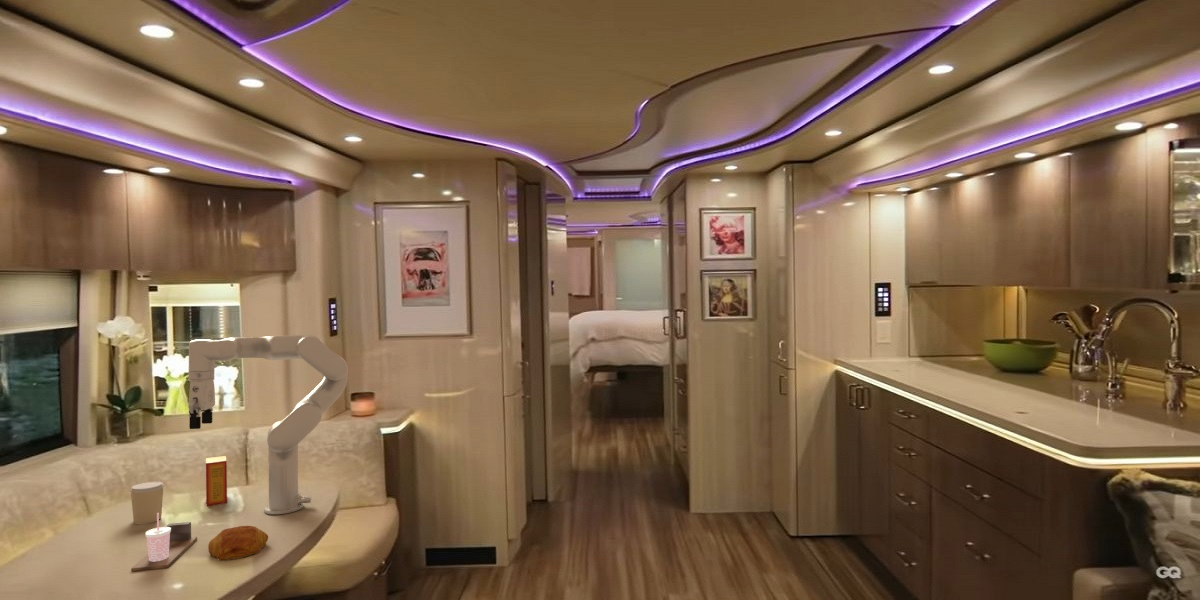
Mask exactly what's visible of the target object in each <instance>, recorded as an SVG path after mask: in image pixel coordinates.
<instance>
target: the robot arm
mask: <svg viewBox="0 0 1200 600" xmlns="http://www.w3.org/2000/svg"><path fill="white" fill-rule="evenodd" d="M234 359H263V360H268V361H269V360H270V361H271V360H272V361H276V360H278V361H279V360H280V361H283V360H301V359H302V360H303V361H305V362H306V363H307V364H308V365H310V366H311V367H312V368H313V369H315V370H316V371H317V372H318V373H319V374H321V375H322V376H323V378H322V380H321V382H320V383H319V384H318V385H317V386H316V387H315V388H314V389H313V390H311V392H309V394H307V395H306V396H305V397H304V398H303V399H301V400H300V401H298V402H297V404H296V405H295V406H294V408H293V410H292V411H291V412H290V413H289V414H288V415H287V416H286V417H284V419H282V420H278V421H276V422H274V423H273V424H272V425H270V427H269V430H268V432H267V438H266V442H267V446H268V467H267V468H268V505H266V506H265V507H264V509H263V512H264V513H265V514H268V515H285V514H290V513H291V514H292V513H294V512H297V511H299V510H301V509H303V507H304V504H311V503H312V497H310V496H309V495H308V496H301V493H300V492H299V443H300V442H301V441H303V440H304V439H305V438H306V437H307V436H308V435H309V434H311V432H312V431H313V430H314V429H315V428H316V427H317V426H318V425H319V424H320V423H321V420H322V418H323V415H324V413H325V412H326V411H327V410H328V409H330V408H331V406H332V405H334V403H335V402H336V401H337V400H338V399H339V398H340V397H341V395H342V394H344V393H343V392H344V391H345V389H346V388H347V384H348V380H349V371H348V369H349V366H348V363H347V362H346V360H345V359H344V358H343V357H342V356H340V355H339V354H337V353H335V352H334V351H333V350H331V349H330V348H329V346H327V345H326V344H324V342H322V341H321V340H320V338H319V337H318V336H316V335H313V334H305V335H303V334H299V335H297V334H296V335H295V334H294V335H269V336H268V335H266V336H256V337H255V336H253V337H249V336H248V337H227V338H223V339H218V340H212V339H194V340H191V341H190V342H189V343H188V382H190V384H189V391H188V393H189V395H188V417H189V427H188V428H189V429H190V430H200V429H201V426H202V425H203V424H205V425H206V424H212V423H213V411H214V409H213V408H214V407H215V405H216V391H215V382H214V381H215V362H216V361H219V362H220V361H221V362H230V361H232V360H234ZM200 415H201V416H200ZM201 424H202V425H201Z"/></svg>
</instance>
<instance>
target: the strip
mask: <svg viewBox="0 0 1200 600" xmlns="http://www.w3.org/2000/svg"><path fill="white" fill-rule="evenodd" d="M166 527H170V528H171V532H170V541H169V557H168V558H166V559H164V560H161V561H155V562H152V561H149V555H148V553H147V554H146V555H145V556H144V557H143V558H142V559H140V560H138V562H137V563H136V564H134V566H132V567H131V568H130V571H131V572H136V571H137V572H140V571H148V570H158V569H168V568H169V567H170V566H171V565H173V564H174V562H175V561H176V560H177V559H179V558H180V557H181V556H182V555H183V554H184V553H185V552H186V551H187V550H188V549H189V548H190V547H191V546H192V545H193V544H194V543H195V542H196V541H197V540H198V536H192V522H191V521H186V522H185V521H183V522H173V523H172V522H170V523H168V524H166ZM194 541H195V542H194Z"/></svg>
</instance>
